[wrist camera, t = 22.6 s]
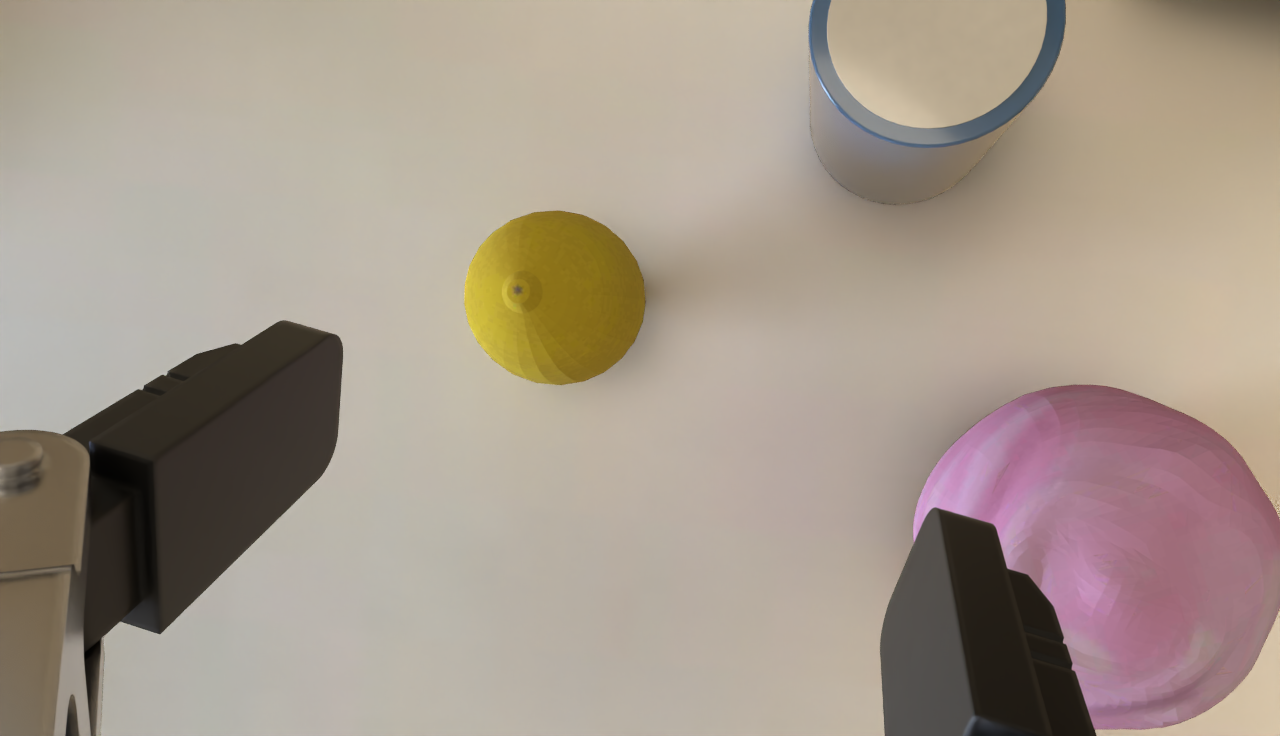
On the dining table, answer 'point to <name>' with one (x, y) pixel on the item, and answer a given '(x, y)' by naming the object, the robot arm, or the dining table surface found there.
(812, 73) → the mug
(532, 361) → the lemon
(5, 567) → the robot arm
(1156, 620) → the cupcake
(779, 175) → the dining table surface
